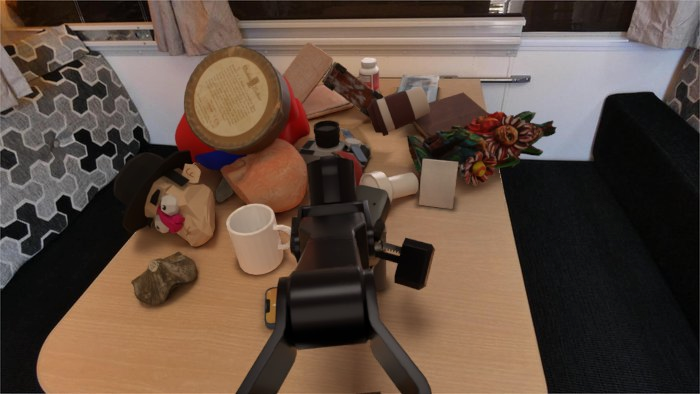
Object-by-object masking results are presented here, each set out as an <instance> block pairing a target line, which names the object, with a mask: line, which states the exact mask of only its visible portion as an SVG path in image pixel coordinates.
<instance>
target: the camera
mask: <svg viewBox="0 0 700 394" xmlns="http://www.w3.org/2000/svg"><path fill="white" fill-rule="evenodd" d="M340 129H341V127H340V123H339V122H338V121H335V120H329V119H327V120H320V121H318V122H315V123H314V124H313V134H314V138H312V137H311V138H308V140H307V141H305V143H304V144H303V145H302V146H301V147H300V148H298V149H297V151H298V152H299V154H300V155H301V156H302V158H303V159H304V161H305V163H306V164H308V163H310V162H312V161H315V160H319V159H320V157H321V156H325V155H326V154H331V152H334V151H344V152H347V153H349V154H351V155H353V156H354V157H355V158H356V159H357V157H356V156H355V154H354V152H353V151H352V149H351V147H348V146H347V145H345V144H344V143H343V141H344V140H341V135H340V133H341V131H340ZM360 149H361V151H362V152H363V154H364V156H365V157H366V159H367V162H360V161H358V162H359V163H360V165H361V168H362V171H363V170H364V168H365V167H366V165H367V163H368V161H369V160H370V157H371V154H372V151H371V149H372V148H371V147H370V146H369V145H368V143H362V142H361V145H360ZM357 160H358V159H357Z"/></svg>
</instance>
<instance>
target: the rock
mask: <svg viewBox="0 0 700 394" xmlns="http://www.w3.org/2000/svg"><path fill="white" fill-rule="evenodd" d="M234 193H235V191H234V190H233V189H232V188H231V186H230V185H229V183H228V182H227V181H226V179H225V178H224V176H223V177H221V181H220V182H219V185H218V186H217V188H216V190H215V196H214V200H216V201H217V202H218V203H223V202H224V201H226V200H227V199H228V198H229V197H231V196H232V195H233V194H234Z"/></svg>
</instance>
